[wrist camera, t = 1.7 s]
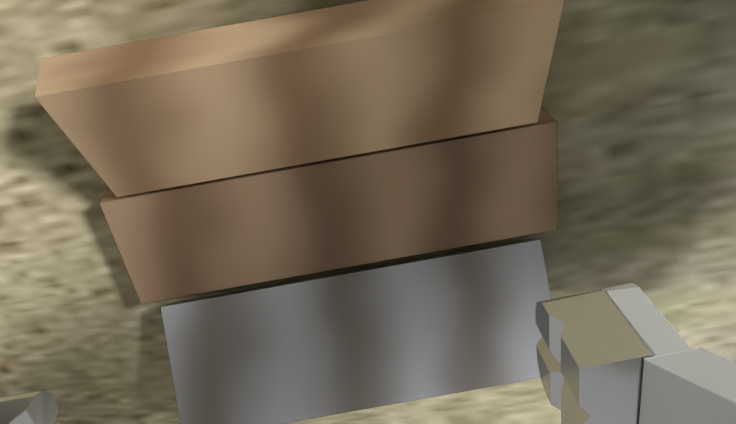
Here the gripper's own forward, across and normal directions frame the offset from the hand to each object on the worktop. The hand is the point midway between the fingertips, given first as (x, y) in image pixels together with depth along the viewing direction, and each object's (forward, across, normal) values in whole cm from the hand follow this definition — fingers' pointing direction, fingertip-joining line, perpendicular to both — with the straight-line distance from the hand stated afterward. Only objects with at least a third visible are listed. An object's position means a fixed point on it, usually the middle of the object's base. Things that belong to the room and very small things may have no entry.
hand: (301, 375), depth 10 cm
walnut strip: (+22, 0, +8) cm, 23 cm away
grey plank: (+19, 0, +15) cm, 25 cm away
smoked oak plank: (+19, 0, +1) cm, 19 cm away
